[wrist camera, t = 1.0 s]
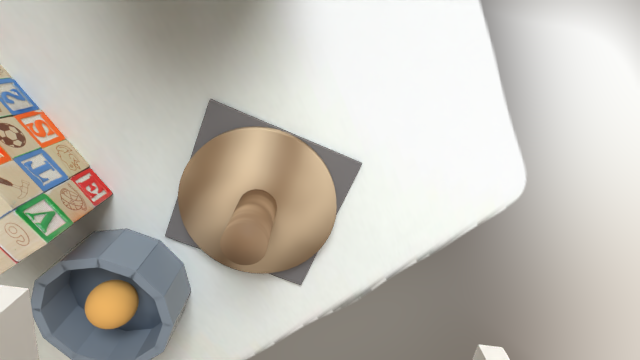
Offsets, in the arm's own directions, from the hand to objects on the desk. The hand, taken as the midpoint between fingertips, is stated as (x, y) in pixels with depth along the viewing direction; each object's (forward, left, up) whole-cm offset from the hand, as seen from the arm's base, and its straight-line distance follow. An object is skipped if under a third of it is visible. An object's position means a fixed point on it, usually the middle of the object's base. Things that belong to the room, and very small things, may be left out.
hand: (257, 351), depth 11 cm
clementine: (-10, -20, -22) cm, 32 cm away
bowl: (-10, -20, -23) cm, 32 cm away
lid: (-1, -6, -23) cm, 23 cm away
